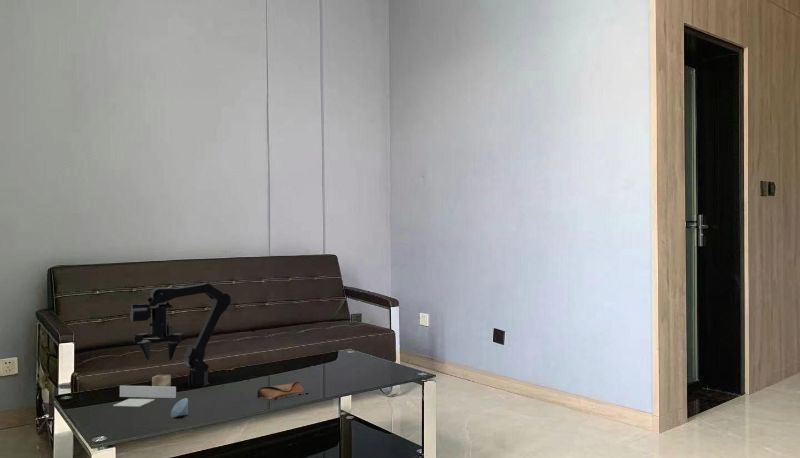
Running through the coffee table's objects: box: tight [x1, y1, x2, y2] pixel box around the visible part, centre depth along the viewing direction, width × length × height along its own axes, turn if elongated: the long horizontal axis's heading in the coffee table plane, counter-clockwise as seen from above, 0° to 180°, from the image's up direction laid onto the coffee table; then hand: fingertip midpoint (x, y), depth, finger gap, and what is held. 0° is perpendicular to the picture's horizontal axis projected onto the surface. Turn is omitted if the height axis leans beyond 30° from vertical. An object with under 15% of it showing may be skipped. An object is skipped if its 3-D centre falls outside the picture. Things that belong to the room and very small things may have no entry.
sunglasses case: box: [257, 381, 305, 399], centre depth 233 cm, size 18×7×7 cm
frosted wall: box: [119, 385, 177, 399], centre depth 232 cm, size 22×1×4 cm, turn 82°
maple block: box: [151, 374, 172, 387], centre depth 242 cm, size 5×5×6 cm
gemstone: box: [170, 397, 189, 419], centre depth 205 cm, size 8×8×5 cm
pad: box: [112, 398, 156, 408], centre depth 223 cm, size 10×10×1 cm
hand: (159, 359), depth 243 cm, fingers open, 9 cm apart
